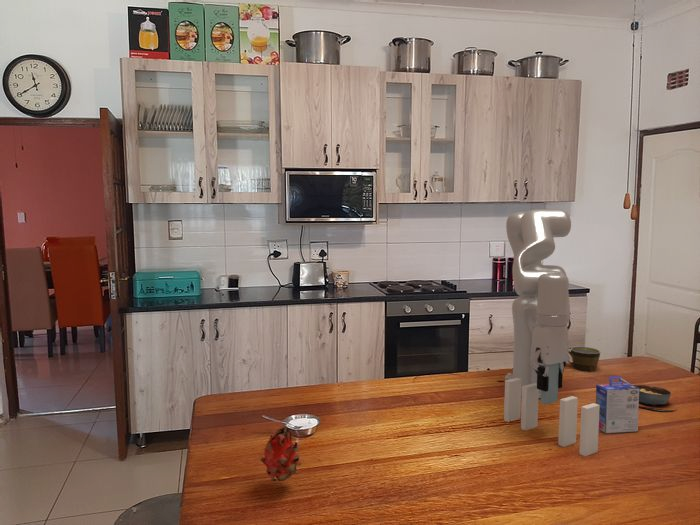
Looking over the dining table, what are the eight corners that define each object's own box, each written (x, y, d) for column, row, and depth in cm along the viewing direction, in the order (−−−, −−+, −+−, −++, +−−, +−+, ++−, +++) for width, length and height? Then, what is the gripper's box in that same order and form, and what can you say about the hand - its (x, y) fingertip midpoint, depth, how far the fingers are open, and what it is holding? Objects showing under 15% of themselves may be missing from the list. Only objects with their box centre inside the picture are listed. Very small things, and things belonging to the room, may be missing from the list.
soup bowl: (659, 419, 149) (661, 394, 149) (609, 401, 164) (610, 379, 163) (689, 410, 156) (690, 386, 156) (638, 394, 170) (639, 372, 170)
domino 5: (579, 453, 126) (581, 406, 125) (591, 449, 129) (593, 403, 128) (585, 456, 125) (587, 408, 124) (597, 451, 128) (599, 404, 127)
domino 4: (558, 444, 131) (560, 399, 130) (570, 440, 134) (572, 395, 133) (563, 447, 130) (565, 401, 129) (575, 442, 133) (577, 397, 132)
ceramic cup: (597, 374, 192) (598, 348, 191) (601, 382, 183) (602, 354, 182) (560, 370, 196) (561, 345, 196) (561, 378, 187) (562, 351, 186)
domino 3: (540, 402, 135) (541, 358, 134) (552, 399, 138) (554, 355, 137) (545, 404, 134) (547, 359, 133) (557, 401, 137) (559, 357, 136)
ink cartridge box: (625, 424, 145) (627, 374, 144) (639, 432, 140) (641, 380, 138) (593, 426, 144) (595, 375, 142) (605, 434, 138) (608, 381, 137)
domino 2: (520, 428, 142) (522, 386, 141) (532, 424, 144) (534, 383, 143) (525, 430, 140) (526, 387, 139) (537, 426, 143) (538, 384, 142)
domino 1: (503, 421, 147) (505, 380, 146) (515, 417, 149) (517, 377, 148) (508, 423, 145) (509, 381, 144) (520, 419, 148) (521, 379, 147)
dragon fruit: (266, 494, 107) (266, 439, 106) (256, 476, 115) (256, 424, 114) (305, 486, 111) (305, 432, 110) (293, 468, 118) (292, 418, 117)
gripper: (559, 315, 142) (557, 380, 143) (518, 321, 133) (516, 389, 134) (584, 320, 136) (582, 387, 137) (542, 326, 127) (540, 397, 128)
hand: (549, 387), depth 136 cm, fingers closed on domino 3, 4 cm apart
